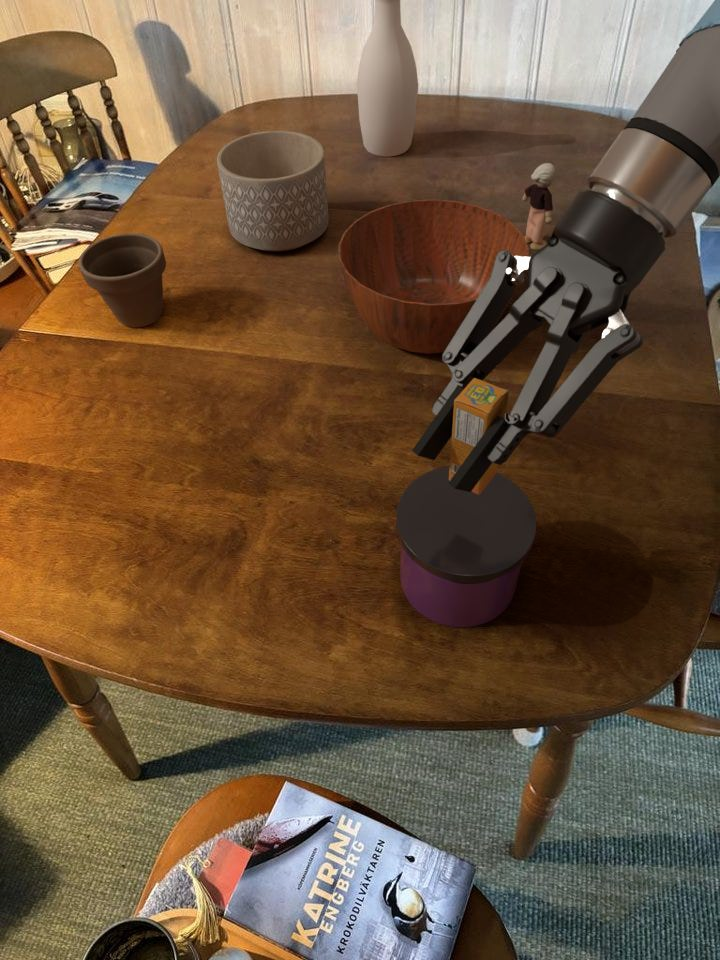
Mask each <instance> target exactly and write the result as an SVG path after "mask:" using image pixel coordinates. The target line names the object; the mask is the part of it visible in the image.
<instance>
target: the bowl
mask: <svg viewBox="0 0 720 960" xmlns="http://www.w3.org/2000/svg"><path fill="white" fill-rule="evenodd" d="M524 236H525V235H524V234H523V233H522V232H521V231H520V230H519V229H518V227H517V226H516V225H515V224H514V223H513V222H511V221H510V220H508V219H507V218H505V217H503V216H502V215H501V214H499V213H497V212H494V211H492V210H489V209H488V208H485V207H482V206H479V205H475V204H471V203H467V202H463V201H458V200H450V199H449V200H448V199H435V198H434V199H433V198H432V199H413V200H412V199H411V200H406V201H401V202H396V203H390V204H387V205H384V206H382V207H379V208H376V209H373V210H371V211H369V212H367V213H365V214H364V215H363V216H361V217H359V218H358V219H355V220H354V221H353V222H352V223H351V224H350V225H349V227H347V228H346V230H345V231H343V233H342V236H341V238H340V240H339V243H338V245H337V247H338V250H337V251H338V262H339V267H340V269H341V273H342V276H343V279H344V282H345V285H346V288H347V291H348V293H349V296H350V298H351V300H352V302H353V303H354V306H355V308H356V309H357V311H358V313H359V315H360V317H361V319H362V320H363V322H364V323H365V325H366V326H367V327H368V328H369V329H370V330H371V331H372V332H373V333H374V334H375V335H376V336H377V337H378V338H379V339H381V340H382V341H384V342H385V343H388V344H389V345H391V346H393V347H395V348H398V349H400V350H405V351H407V352H410V353H417V354H426V355H431V354H432V355H433V354H443V353H444V351H445V349H446V348H447V346H448V345H449V343H450V341H451V340H452V338H453V337H454V335H455V333H456V332H457V330H458V329H459V327H460V325H461V324H462V322H463V321H464V319H465V317H466V316H467V314H468V313H469V311H470V309H471V308H472V306H473V305H474V303H475V301H476V300H477V298H478V297H479V295H480V293H481V292H482V290H483V289H484V287H485V285H486V284H487V282H488V281H489V279H490V277H491V274H492V270H493V266H494V263H495V259H496V256H497V254H498V253H499V252H500V251H502V250H507V251H508V252H509V253H511V254H512V255H513V256H526V257H530V256H529V255H530V248H529V246H528V243H527V242H526V240H525V237H524ZM518 288H519V285H517V287H516V290H515V292H514V294H513V296H512V298H511V300H510V301H509V303H508V304H507V306H506V307H505V309H504V311H503V312H502V314H501V315H500V317H499V318H498V320H497V321H496V323H495V325H496V324H497V323H498V321H499V320H500V319H501V317H502V316H503V314H504V312H505V311H506V310H507V307H508V306H509V304H510V302H511V301H512V300H513V298H514V296H515V294H516V292H517V290H518ZM495 325H494V326H493V328H495Z"/></svg>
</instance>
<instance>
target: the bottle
mask: <svg viewBox="0 0 720 960" xmlns="http://www.w3.org/2000/svg"><path fill="white" fill-rule="evenodd" d="M401 14H402V13H401V0H374V15H373V17H374V19H373V27H372V28H371V31H370V33H369V35H368V38H367V40H366V42H365V43H364V46H363V48H362V52H361V56H360V60H359V63H358V70H357V79H356V91H357V92H356V93H357V104H358V105H357V107H358V120H359V125H360V126H359V127H360V131H361V138H362V144H363V148H365V150H366V151H367V152H368V153H370V154H371V155H374V156H377V157H384V158H385V157H387V158H388V157H396V156H400V155H402V154H405V153H406V152H407V151H408V150H409V149H410V147H411V146H412V143H413V136H414V130H415V126H416V125H415V124H416V119H417V107H418V96H419V95H418V94H419V92H418V91H419V79H418V69H417V64H416V59H415V56H414V52H413V47H412V45H411V43H410V41H409V39H408V37H407V34H406V32H405V31H404V28H403V26H402V17H401Z"/></svg>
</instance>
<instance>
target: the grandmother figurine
mask: <svg viewBox="0 0 720 960" xmlns="http://www.w3.org/2000/svg"><path fill="white" fill-rule="evenodd" d="M555 173H556V168H555V166H554V165H553V164H552V163H550V162H546V163H545V162H544V163H542V164H540V165H539V166H537V167H536V168H535V170H533V173H532V174H531V175H530V179H531V180H532V181H535V183H533V184H531V185H529V186H528V187H526V188H525V189H524V193H523V196H522V201H523V202H525V203H526V202H528V201H529V205H530V209H529V212H528V218H527V223H526V229H525V235H524V237H525V240H526V242H527V244H530V245H529V247H530V249H531V250H535V251H537V250H539V249H541V248H542V247H543V246H545V245H546V244H547V243H548V242H547V241H546V240H544V237H545V235H546V224H551V223H552V222H553V210H554V205H553V193H551V191H550V190H549V187H550V186H551V185H552V184H553V182H554V176H555Z"/></svg>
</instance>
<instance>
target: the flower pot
mask: <svg viewBox="0 0 720 960" xmlns="http://www.w3.org/2000/svg"><path fill="white" fill-rule="evenodd" d="M166 267H167V261H166V256H165V252H164V248H163V246H162V245H161V243H160V242H159V241H158V240H157V239H155V238H154V237H152V236H150V235H147V234H143V233H132V232H131V233H130V232H128V233H119V234H114V235H110V236H107V237H104V238H101V239H100V240H97V241H96V242H94V243H92V244H91V245H89V246H88V247H87V248H86V249H84V250H83V252H82V253H81V254H80V256H79V258H78V269H79V271H80V273H81V276H82V277H83V280H84V282H85V283H86V284H87V285H88V286H89V287H90V288H91V289H93V290H95V291H97V293H98V294H99V295H100V297H101V299H102V300H103V301H104V303H105V304H106V305H107V308H108V309H109V310H110V311H111V313H112V314H113V315H114V317H115V318H116V319H117V321H119V323H120V324H122V325H123V326H125V327H127V328H128V327H129V328H142V327H146V326H149V325H151V324H153V323H155V322H156V321H157V320H159V319H160V317H161V316H162V314H163V310H164V309H163V308H164V289H163V288H164V286H163V285H164V284H163V274H164V272H165V270H166Z"/></svg>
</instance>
